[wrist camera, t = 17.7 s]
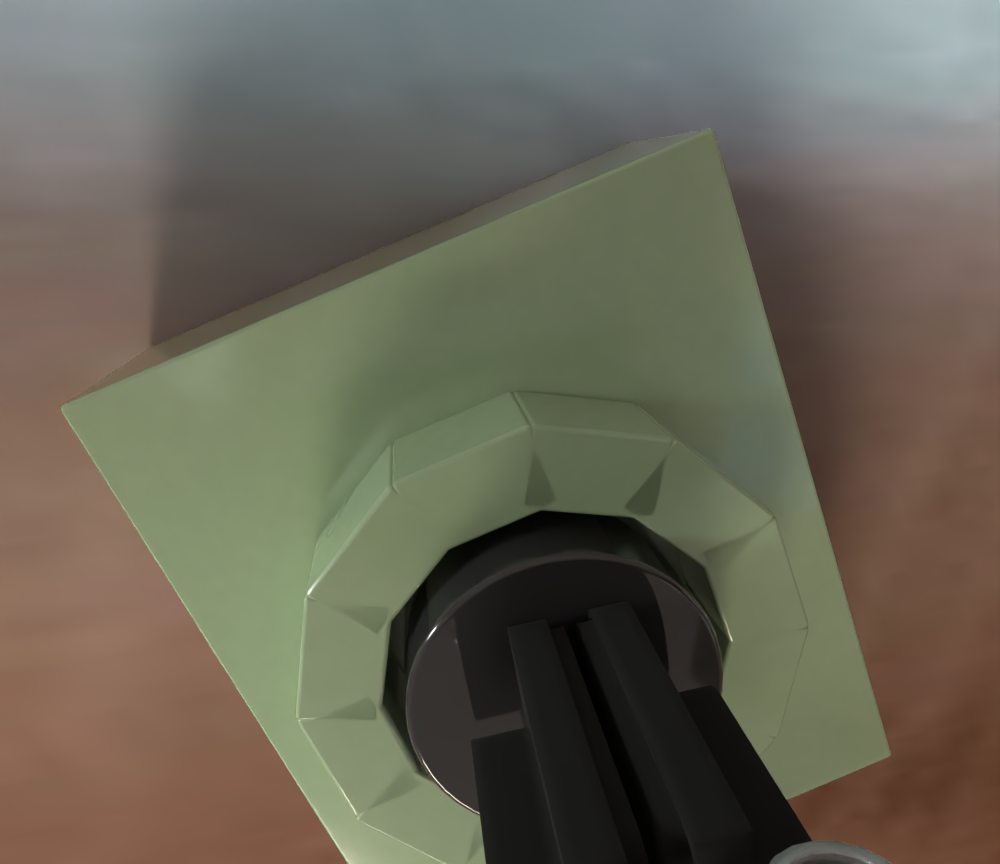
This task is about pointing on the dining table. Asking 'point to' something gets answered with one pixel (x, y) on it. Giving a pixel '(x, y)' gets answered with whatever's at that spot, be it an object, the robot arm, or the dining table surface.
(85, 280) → the dining table surface
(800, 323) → the dining table surface
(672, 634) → the dark grey button cap
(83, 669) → the dining table surface
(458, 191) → the dining table surface
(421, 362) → the button base
